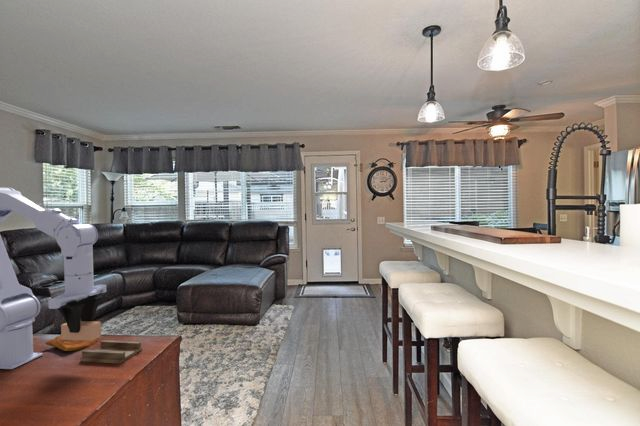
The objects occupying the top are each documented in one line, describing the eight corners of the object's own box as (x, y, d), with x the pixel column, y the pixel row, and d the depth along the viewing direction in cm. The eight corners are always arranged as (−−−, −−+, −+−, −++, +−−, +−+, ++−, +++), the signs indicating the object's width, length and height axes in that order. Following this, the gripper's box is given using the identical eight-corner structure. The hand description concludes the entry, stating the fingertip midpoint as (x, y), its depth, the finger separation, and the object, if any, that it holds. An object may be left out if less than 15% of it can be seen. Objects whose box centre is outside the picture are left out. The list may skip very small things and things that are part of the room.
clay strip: (61, 339, 81) (60, 324, 81) (72, 334, 84) (71, 320, 84) (91, 340, 80) (90, 326, 80) (101, 335, 83) (100, 321, 83)
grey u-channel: (80, 361, 84) (80, 352, 84) (105, 347, 92) (104, 339, 92) (121, 363, 83) (120, 354, 83) (142, 349, 91) (142, 341, 91)
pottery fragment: (73, 328, 100) (100, 324, 98) (76, 343, 100) (103, 340, 98) (38, 342, 90) (67, 339, 88) (41, 359, 90) (71, 356, 88)
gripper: (67, 280, 74) (69, 342, 75) (116, 268, 89) (117, 319, 89) (39, 280, 75) (41, 340, 76) (92, 267, 90) (93, 318, 90)
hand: (81, 329), depth 82 cm, fingers closed on clay strip, 3 cm apart
